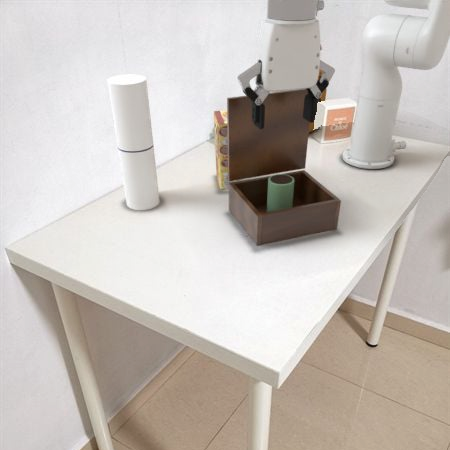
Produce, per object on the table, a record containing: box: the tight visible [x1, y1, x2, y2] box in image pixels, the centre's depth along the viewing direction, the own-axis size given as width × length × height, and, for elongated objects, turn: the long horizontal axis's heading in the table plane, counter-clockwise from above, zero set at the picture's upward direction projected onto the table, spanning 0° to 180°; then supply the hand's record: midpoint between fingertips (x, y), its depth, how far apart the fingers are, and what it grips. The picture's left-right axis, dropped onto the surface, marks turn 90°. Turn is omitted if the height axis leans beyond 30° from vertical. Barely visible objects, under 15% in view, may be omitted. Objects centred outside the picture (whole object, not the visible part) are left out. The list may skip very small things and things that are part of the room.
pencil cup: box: [267, 173, 294, 212], centre depth 92 cm, size 5×5×8 cm
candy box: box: [213, 109, 239, 190], centre depth 104 cm, size 9×4×15 cm, turn 8°
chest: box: [228, 169, 342, 247], centre depth 93 cm, size 15×17×7 cm
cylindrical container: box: [106, 73, 161, 211], centre depth 95 cm, size 7×7×25 cm
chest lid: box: [226, 89, 310, 181], centre depth 92 cm, size 16×17×5 cm
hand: (283, 123), depth 83 cm, fingers open, 9 cm apart
